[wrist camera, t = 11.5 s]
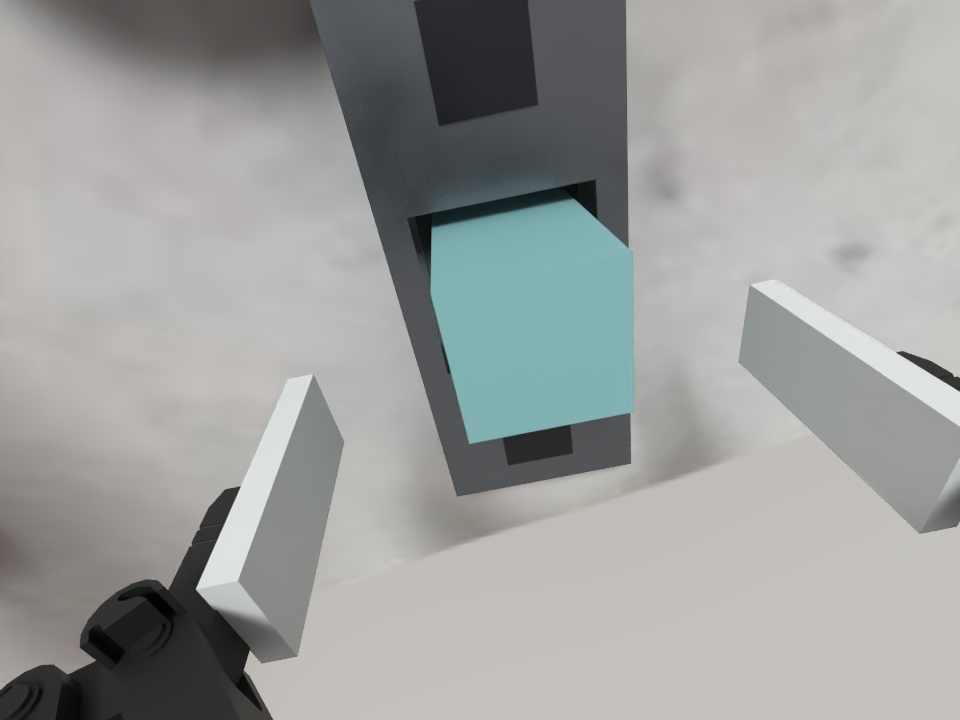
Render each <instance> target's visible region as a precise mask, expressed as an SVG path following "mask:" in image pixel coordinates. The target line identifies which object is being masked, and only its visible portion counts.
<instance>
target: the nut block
mask: <svg viewBox="0 0 960 720" xmlns="http://www.w3.org/2000/svg"><path fill="white" fill-rule="evenodd" d="M431 297H432V301H433V305H434V308H435V312H436V316H437V320H438V324H439V328H440V332H441V336H442V340H443V343H444V347H445V351H446V355H447V359H448V363H449V367H450V371H451V375H452V378H453V382H454V386H455V390H456V394H457V398H458V402H459V406H460V410H461V413H462V417H463V421H464V425H465V429H466V433H467V437H468V441H469V444H472V443H477V442H482V441H487V440H492V439H497V438H503V437H508V436H513V435H518V434H523V433H528V432H534V431H539V430H544V429H549V428H554V427H559V426H564V425H570V424H575V423H580V422H585V421H590V420H595V419H601V418H606V417H611V416H616V415H621V414H626V413H632V412H634V357H633V252H632V251H631V250H630V249H629V248H628V247H626V246H625V245H624V244H623V243H622V242H621V241H620V240H619V239H618V238H617V237H615V236H614V235H613V234H612V233H611V232H610V231H609V230H608V229H607V228H606V227H604V226H603V225H602V224H601V223H600V222H599V221H598V220H597V219H596V218H595V217H593V216H592V215H591V214H590V213H589V212H588V211H587V210H586V209H585V208H584V207H582V206H581V205H580V204H579V203H578V202H577V201H576V200H575V199H574V198H573V197H571V196H570V195H569V194H568V193H567V192H566V191H565V190H564V189H563V188H557V189H552V190H547V191H542V192H537V193H532V194H528V195H523V196H518V197H513V198H508V199H503V200H498V201H494V202H489V203H484V204H479V205H474V206H469V207H464V208H460V209H455V210H450V211H445V212H440V213H435V214H432V239H431Z"/></svg>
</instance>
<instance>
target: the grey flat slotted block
mask: <svg viewBox="0 0 960 720" xmlns="http://www.w3.org/2000/svg"><path fill="white" fill-rule="evenodd" d="M309 2H310V5H311V8H312V12H313V15H314V18H315V22H316V25H317V28H318V32H319V35H320V38H321V42H322V45H323V48H324V52H325V55H326V59H327V62H328V65H329V69H330V72H331V75H332V79H333V82H334V85H335V89H336V92H337V95H338V99H339V102H340V105H341V109H342V112H343V116H344V119H345V122H346V126H347V129H348V132H349V136H350V139H351V142H352V146H353V149H354V152H355V156H356V159H357V162H358V166H359V169H360V172H361V176H362V179H363V183H364V186H365V189H366V193H367V196H368V199H369V203H370V206H371V209H372V213H373V216H374V219H375V223H376V226H377V229H378V233H379V236H380V239H381V243H382V246H383V250H384V253H385V256H386V260H387V263H388V266H389V270H390V273H391V276H392V280H393V283H394V286H395V290H396V293H397V296H398V300H399V303H400V307H401V310H402V313H403V317H404V320H405V323H406V327H407V330H408V333H409V337H410V340H411V343H412V347H413V350H414V353H415V357H416V360H417V363H418V367H419V370H420V374H421V377H422V380H423V384H424V387H425V390H426V394H427V397H428V400H429V404H430V407H431V410H432V414H433V417H434V420H435V424H436V427H437V431H438V434H439V437H440V441H441V444H442V447H443V451H444V454H445V457H446V461H447V464H448V467H449V471H450V474H451V477H452V481H453V484H454V487H455V491H456V494H457V496H462V495H468V494H473V493H478V492H483V491H489V490H494V489H499V488H505V487H510V486H515V485H520V484H526V483H531V482H536V481H542V480H547V479H552V478H557V477H563V476H568V475H573V474H579V473H584V472H589V471H594V470H600V469H605V468H610V467H615V466H621V465H626V464H631V433H630V413H626V414H621V415H616V416H611V417H606V418H601V419H595V420H590V421H585V422H580V423H575V424H570V425H564V426H559V427H554V428H549V429H544V430H539V431H534V432H528V433H523V434H518V435H513V436H508V437H503V438H497V439H492V440H487V441H482V442H477V443H472V444H469V441H468V437H467V433H466V429H465V425H464V421H463V417H462V413H461V410H460V406H459V402H458V398H457V394H456V390H455V386H454V382H453V378H452V375H451V371H450V367H449V363H448V359H447V355H446V351H445V347H444V343H443V340H442V336H441V332H440V328H439V324H438V320H437V316H436V312H435V308H434V305H433V301H432V297H431V280H430V276H429V272H428V268H427V264H426V260H425V256H424V252H423V248H422V244H421V240H420V236H419V232H418V228H417V224H416V220H415V216H419V215H424V214H429V213H434V212H439V211H444V210H449V209H454V208H458V207H463V206H468V205H473V204H478V203H483V202H488V201H493V200H497V199H502V198H507V197H512V196H517V195H522V194H527V193H532V192H536V191H541V190H546V189H551V188H556V187H561V186H566V185H571V184H575V183H577V187H578V202H579V204H580V205H581V206H582V207H584V208H585V209H586V210H587V211H588V212H589V213H590V214H591V215H592V216H593V217H595V218H596V219H597V220H598V221H599V222H600V223H601V224H602V225H603V226H604V227H606V228H607V229H608V230H609V231H610V232H611V233H612V234H613V235H614V236H615V237H617V238H618V239H619V240H620V241H621V242H622V243H623V244H624V245H625V246H626V247H628V161H627V71H626V0H309Z"/></svg>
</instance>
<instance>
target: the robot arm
mask: <svg viewBox="0 0 960 720" xmlns="http://www.w3.org/2000/svg"><path fill="white" fill-rule="evenodd" d="M739 363H740V364H741V365H742V366H743V367H744V368H746V369H747V370H748V371H749V372H750V373H751V374H752V375H753V376H754V377H755V378H756V379H757V380H758V381H759V382H760V383H761V384H762V385H763V386H764V387H766V388H767V389H768V390H769V391H770V392H771V393H772V394H773V395H774V396H775V397H776V398H777V399H778V400H779V401H780V402H781V403H782V404H783V405H785V406H786V407H787V408H788V409H789V410H790V411H791V412H792V413H793V414H794V415H795V416H796V417H797V418H798V419H799V420H800V421H801V422H802V423H803V424H805V425H806V426H807V427H808V428H809V429H810V430H811V431H812V432H813V433H814V434H815V435H816V436H817V437H818V438H819V439H820V440H821V441H822V442H824V443H825V444H826V445H827V446H828V447H829V448H830V449H831V450H832V451H833V452H834V453H835V454H836V455H837V456H838V457H840V459H841V460H842V461H844V462H845V463H846V464H847V465H848V466H849V467H850V468H851V469H852V470H853V471H854V472H855V473H856V474H857V475H858V476H859V477H861V479H863V480H864V481H865V482H866V483H867V484H868V485H869V486H870V487H871V488H872V489H873V490H874V491H875V492H876V493H877V494H878V495H879V496H881V498H883V499H884V500H885V501H886V502H887V503H888V504H889V505H890V506H891V507H892V508H893V509H894V510H895V511H896V512H897V513H898V514H900V516H902V517H903V518H904V519H905V520H906V521H907V522H908V523H909V524H910V525H911V526H912V527H913V528H914V529H915V530H917V532H918V533H920V534H921V533H926V532H931V531H937V530H941V529H947V528H952V527H956V526H957V525H958V524H959V522H960V378H959V377H954V376H953V374H952V373H950V372H949V371H947V370H945V369H944V368H942V367H940V366H938V365H937V364H935V363H933V362H932V361H929V360H926V359H924V358H921V357H918V356H915V355H912V354H909V353H906V352H903V351H901V352H896V353H895V352H894V351H892V350H891V349H889V348H887V347H886V346H884V345H882V344H881V343H879V342H877V341H876V340H874V339H873V338H871V337H869V336H868V335H866V334H864V333H863V332H861V331H859V330H858V329H856V328H855V327H853V326H851V325H850V324H848V323H846V322H845V321H843V320H842V319H840V318H838V317H837V316H835V315H833V314H832V313H830V312H828V311H827V310H825V309H824V308H822V307H820V306H819V305H817V304H815V303H814V302H812V301H810V300H809V299H807V298H806V297H804V296H802V295H801V294H799V293H797V292H796V291H794V290H792V289H791V288H789V287H788V286H786V285H784V284H783V283H781V282H779V281H778V280H776V279H774V280H769V281H765V282H760V283H755V284H750V287H749V294H748V301H747V307H746V314H745V321H744V328H743V335H742V342H741V348H740V355H739ZM343 445H344V440H343V438H342V436H341V434H340V432H339V429H338V427H337V425H336V423H335V421H334V418H333V416H332V414H331V412H330V410H329V407H328V405H327V403H326V401H325V399H324V396H323V394H322V392H321V390H320V387H319V385H318V383H317V381H316V379H315V376H314V374H311V375H306V376H301V377H296V378H291V379H288V381H287V383H286V385H285V388H284V390H283V392H282V394H281V397H280V399H279V401H278V404H277V406H276V408H275V410H274V413H273V415H272V417H271V419H270V422H269V424H268V426H267V429H266V431H265V433H264V435H263V438H262V440H261V442H260V444H259V447H258V449H257V451H256V454H255V456H254V458H253V460H252V463H251V465H250V467H249V470H248V472H247V474H246V476H245V479H244V481H243V483H242V485H241V486H240V487H235V488H230V489H225V490H224V491H223V492H222V494H221V495H220V496H219V497H218V498H217V499H216V500H215V501H214V503H213V504H212V505H211V506H210V507H209V508H208V510H207V512H206V515H205V517H204V519H203V521H202V523H201V525H200V530H199V531H197V533H196V535H195V537H194V539H193V541H192V547H189V549H188V551H187V553H186V555H185V557H184V559H183V561H182V563H181V565H180V567H179V569H178V572H177V574H176V576H175V578H174V580H173V582H172V584H171V586H170V588H169V590H167V589H166V588H165V587H164V586H163V585H162V584H161V583H160V582H159V581H158V580H143V581H139V582H136V583H133V584H130V585H129V586H127V587H125V588H123V589H122V590H120V591H118V592H116V593H115V594H114V595H113V596H111V597H110V598H109V599H108V600H107V601H105V602H104V603H103V604H102V605H101V606H100V607H99V608H98V609H97V610H96V612H95V613H94V614H93V615H92V616H91V618H90V619H89V620H88V622H87V624H86V626H85V628H84V630H83V632H82V634H81V639H80V648H81V649H82V650H84V651H85V652H86V653H88V654H89V655H90V656H91V657H93V658H94V659H95V660H97V661H95V662H93V663H91V664H89V665H87V666H85V667H83V668H81V669H79V670H77V671H75V672H72V673H70V674H68V675H67V674H66V673H64V672H63V671H62V670H60V669H59V668H58V667H56V666H55V665H40V666H38V667H36V668H33V669H31V670H28V671H26V672H24V673H23V674H21V675H20V676H18V677H17V678H15V679H14V680H12V681H11V682H9V683H8V684H7V685H6V686H4V687H3V688H2V689H1V690H0V720H273V719H272V717H271V715H270V713H269V711H268V709H267V708H266V706H265V704H264V702H263V700H262V698H261V697H260V695H259V693H258V691H257V689H256V687H255V685H254V684H253V682H252V680H251V678H250V676H249V675H248V674H247V673H246V672H245V671H244V667H245V664H246V661H247V657H248V654H249V651H251V652H252V653H253V654H254V655H255V656H256V657H257V659H258V660H259V661H260V662H261V663H266V662H271V661H276V660H281V659H287V658H291V657H297V656H298V651H299V646H300V642H301V638H302V633H303V629H304V624H305V619H306V615H307V610H308V606H309V600H310V596H311V592H312V587H313V583H314V578H315V573H316V569H317V564H318V560H319V555H320V550H321V546H322V541H323V537H324V532H325V527H326V523H327V518H328V514H329V509H330V505H331V500H332V495H333V491H334V486H335V482H336V477H337V472H338V468H339V463H340V459H341V454H342V449H343Z"/></svg>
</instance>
